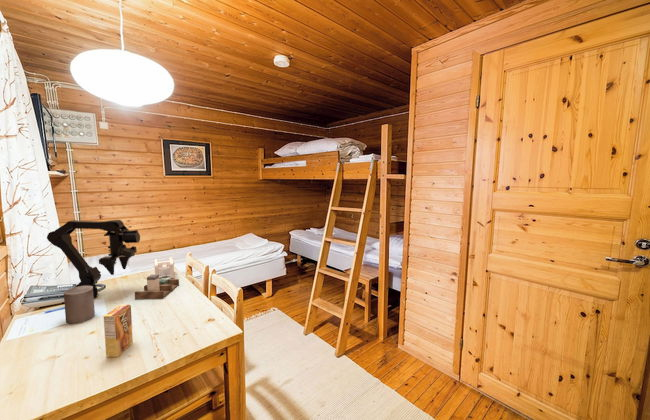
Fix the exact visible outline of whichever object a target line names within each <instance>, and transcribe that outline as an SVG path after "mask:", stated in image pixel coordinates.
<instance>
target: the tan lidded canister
mask: <svg viewBox="0 0 650 420" xmlns="http://www.w3.org/2000/svg"><path fill="white" fill-rule="evenodd" d="M159 279H160V278H159V275H155V274H150V275H148V276H146V281H147V284H146V285H147V287H148V291H160V286H159Z"/></svg>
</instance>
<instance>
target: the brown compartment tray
mask: <svg viewBox="0 0 650 420" xmlns="http://www.w3.org/2000/svg"><path fill="white" fill-rule="evenodd" d="M159 286H160V291H148V287H147V284H145V285H144V286H143V290H138V291H137V290H136V291H134V300H164V299H165V298H166V297H167V296H168V295H169V293H170V292H171V293H172V292H174V290H175V288H176V287H177V286H178V287H179V286H180V279H178V278H177V279H176V278H173V279H172V278H169V279H167V278H166V279H164V278H159ZM178 287H177V288H178ZM177 288H176V289H177ZM171 293H170V294H171ZM164 297H165V298H164Z"/></svg>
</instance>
